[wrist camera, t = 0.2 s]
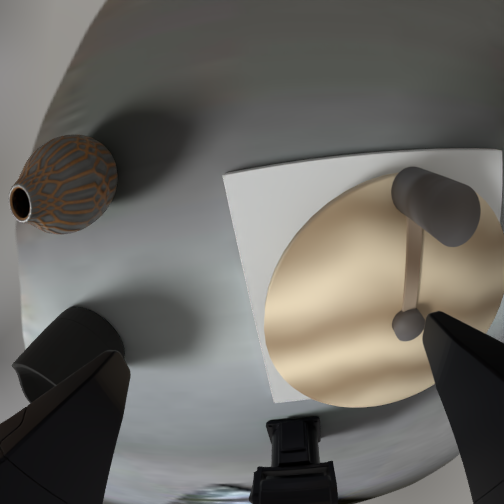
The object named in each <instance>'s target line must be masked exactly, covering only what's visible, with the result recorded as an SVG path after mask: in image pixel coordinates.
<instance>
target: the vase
mask: <svg viewBox="0 0 504 504" xmlns="http://www.w3.org/2000/svg"><path fill="white" fill-rule="evenodd" d="M117 179H118V177H117V168H116V164H115V161H114V159H113V157H112V155H111V153H110V152H109V150H108V149H107V148H106V147H105V146H104V145H103V144H102V143H100V142H99V141H97V140H95V139H93V138H91V137H88V136H84V135H65V136H60V137H57V138H54V139H52V140H50V141H48V142H47V143H45V144H43V145H42V146H41V147H39V148H38V149H37V150H36V151H35V152H34V153H33V154H32V155H31V156H30V157H29V159H28V160H27V162H26V164H25V166H24V168H23V170H22V172H21V174H20V176H19V179H18V180H17V181H16V183H15V184H14V185H13V186H12V188H11V190H10V192H9V207H10V210H11V213H12V215H13V216H14V218H15V219H16V220H17V221H18V222H20V223H25V224H31V225H33V226H35V227H36V228H38V229H40V230H42V231H44V232H47V233H51V234H68V233H73V232H77V231H79V230H82V229H84V228H86V227H87V226H89V225H91V224H92V223H93V222H95V221H96V220H97V219H98V218H100V217H101V216H102V215H103V213H104V212H105V211H106V210H107V208H108V207H109V205H110V203H111V202H112V199H113V197H114V194H115V191H116V188H117Z"/></svg>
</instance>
